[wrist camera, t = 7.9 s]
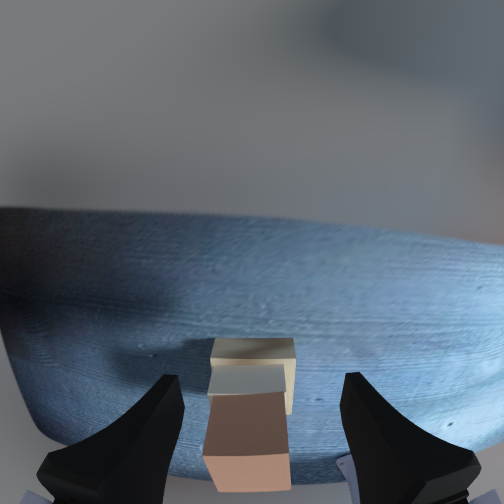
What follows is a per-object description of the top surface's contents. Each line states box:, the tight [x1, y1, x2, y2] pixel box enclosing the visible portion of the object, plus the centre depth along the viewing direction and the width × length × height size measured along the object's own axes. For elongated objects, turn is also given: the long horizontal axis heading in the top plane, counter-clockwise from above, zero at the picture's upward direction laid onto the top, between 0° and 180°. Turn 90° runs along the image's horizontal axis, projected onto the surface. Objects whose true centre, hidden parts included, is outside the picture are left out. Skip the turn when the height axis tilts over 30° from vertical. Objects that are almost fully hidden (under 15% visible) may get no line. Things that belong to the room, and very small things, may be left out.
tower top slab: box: [207, 364, 286, 409], centre depth 20 cm, size 5×5×3 cm
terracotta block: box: [202, 391, 291, 492], centre depth 16 cm, size 4×4×5 cm
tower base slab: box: [210, 338, 296, 415], centre depth 23 cm, size 6×6×3 cm
